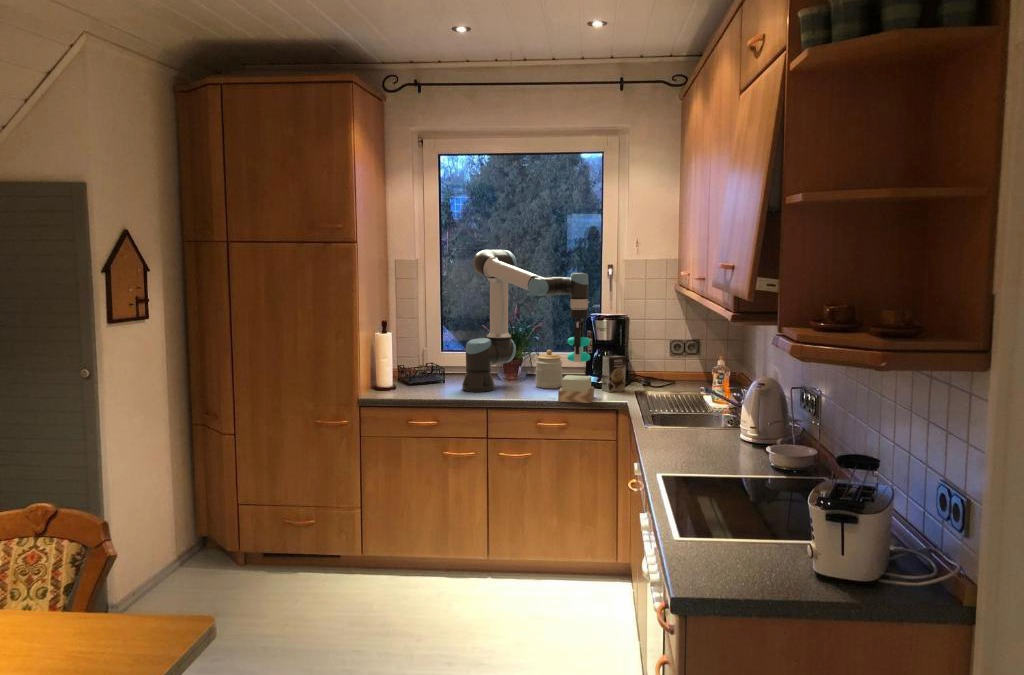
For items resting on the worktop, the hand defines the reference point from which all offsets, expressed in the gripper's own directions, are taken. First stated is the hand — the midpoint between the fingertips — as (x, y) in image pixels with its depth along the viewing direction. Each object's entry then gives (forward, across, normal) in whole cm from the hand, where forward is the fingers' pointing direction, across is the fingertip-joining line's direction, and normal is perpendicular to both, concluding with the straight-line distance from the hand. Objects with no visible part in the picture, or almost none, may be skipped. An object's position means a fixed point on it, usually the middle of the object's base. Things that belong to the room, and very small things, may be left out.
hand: (578, 360), depth 335 cm
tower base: (+18, 0, +1) cm, 18 cm away
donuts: (0, 0, 0) cm, 0 cm away
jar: (+17, +29, +17) cm, 38 cm away
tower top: (+13, 0, +1) cm, 13 cm away
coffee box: (+18, +24, -14) cm, 33 cm away
